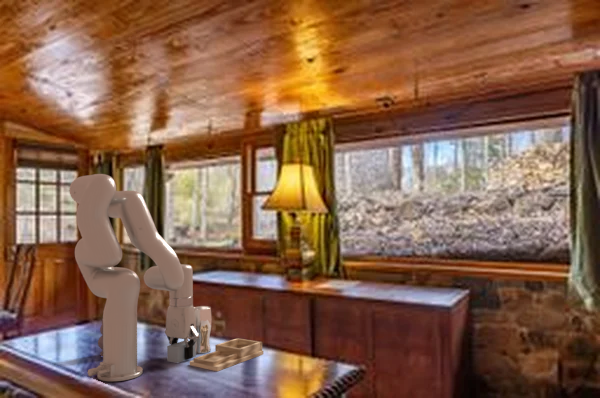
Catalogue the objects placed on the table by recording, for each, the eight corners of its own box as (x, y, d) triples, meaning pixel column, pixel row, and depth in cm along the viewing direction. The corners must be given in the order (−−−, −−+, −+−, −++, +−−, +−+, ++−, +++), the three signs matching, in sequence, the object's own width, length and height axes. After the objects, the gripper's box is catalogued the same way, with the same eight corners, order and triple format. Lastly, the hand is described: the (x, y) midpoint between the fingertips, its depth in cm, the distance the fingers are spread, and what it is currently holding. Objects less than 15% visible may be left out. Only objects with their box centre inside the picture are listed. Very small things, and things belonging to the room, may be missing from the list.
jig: (217, 371, 151) (217, 357, 151) (189, 365, 158) (189, 352, 158) (263, 354, 169) (263, 342, 170) (236, 349, 176) (236, 338, 176)
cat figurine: (128, 354, 172) (128, 319, 173) (108, 360, 166) (108, 323, 166) (113, 351, 177) (112, 316, 177) (92, 356, 170) (92, 320, 171)
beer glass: (214, 348, 178) (213, 306, 178) (208, 354, 171) (208, 309, 171) (194, 348, 178) (194, 306, 179) (188, 353, 172) (188, 309, 172)
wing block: (177, 363, 161) (177, 347, 161) (167, 361, 163) (167, 346, 163) (195, 356, 168) (195, 341, 169) (185, 355, 171) (185, 340, 171)
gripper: (154, 301, 168) (155, 356, 168) (191, 306, 159) (191, 364, 158) (172, 298, 175) (172, 351, 174) (208, 302, 165) (208, 358, 164)
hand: (181, 356), depth 166 cm, fingers open, 5 cm apart
